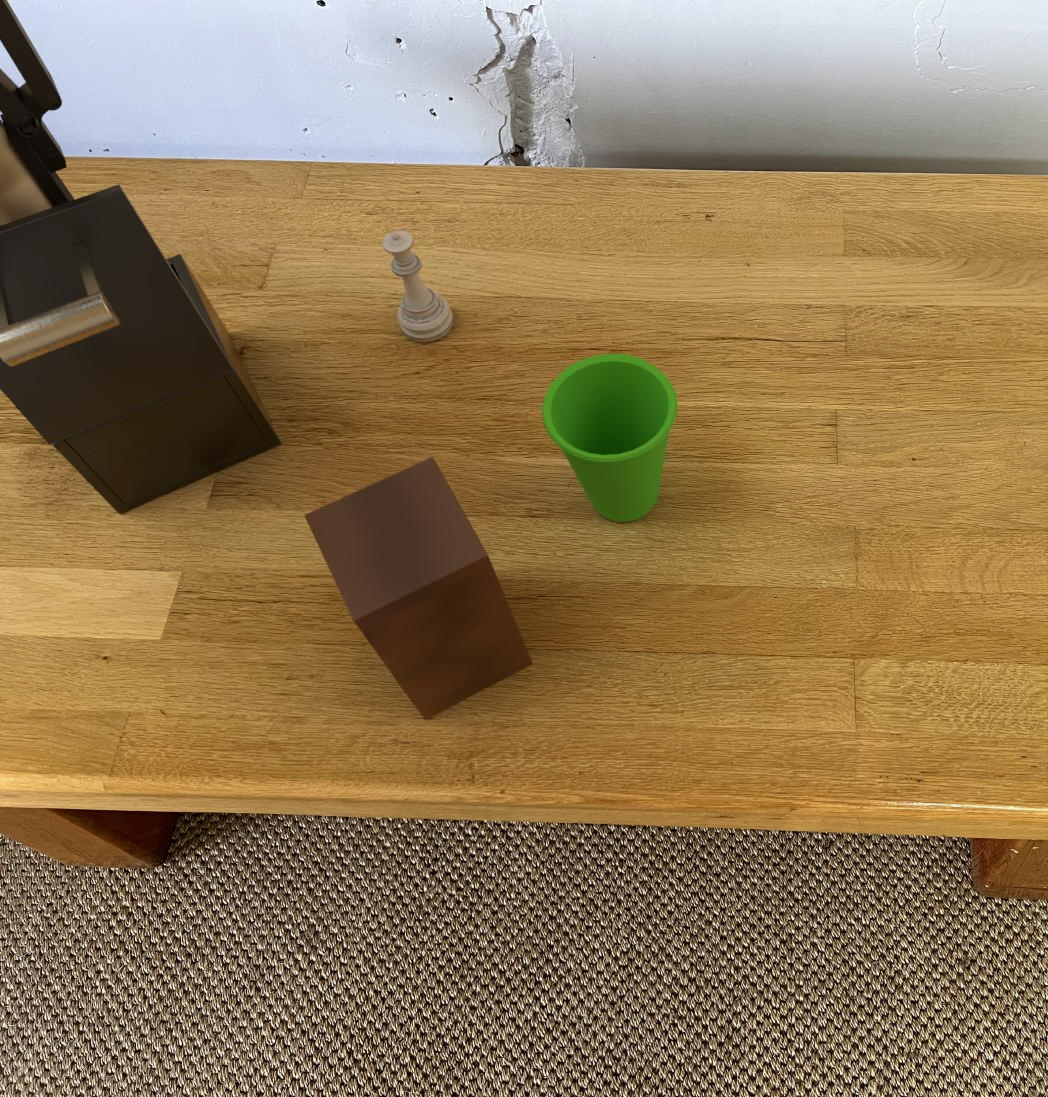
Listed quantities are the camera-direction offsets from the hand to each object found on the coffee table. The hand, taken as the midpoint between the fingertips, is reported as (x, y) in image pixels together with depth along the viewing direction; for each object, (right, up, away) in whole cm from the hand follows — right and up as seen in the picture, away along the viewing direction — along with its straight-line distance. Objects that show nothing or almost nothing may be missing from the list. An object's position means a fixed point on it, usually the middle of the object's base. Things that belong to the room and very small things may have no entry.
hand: (35, 224), depth 66 cm
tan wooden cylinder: (0, 0, +1) cm, 1 cm away
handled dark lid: (+3, -6, -1) cm, 7 cm away
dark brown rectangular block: (+25, -28, +6) cm, 38 cm away
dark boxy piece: (0, -10, +16) cm, 19 cm away
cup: (+37, -17, +12) cm, 42 cm away
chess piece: (+19, -2, +21) cm, 28 cm away
